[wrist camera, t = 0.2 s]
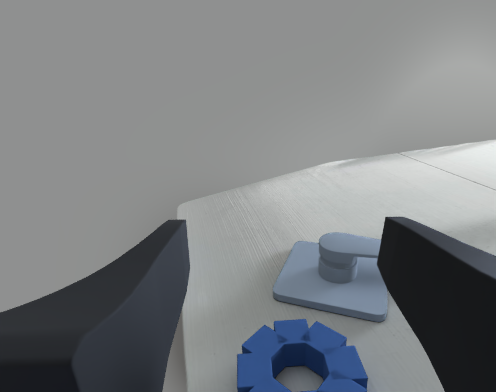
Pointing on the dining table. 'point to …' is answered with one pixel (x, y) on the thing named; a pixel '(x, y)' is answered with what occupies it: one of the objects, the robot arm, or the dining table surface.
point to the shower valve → (335, 277)
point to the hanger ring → (299, 358)
